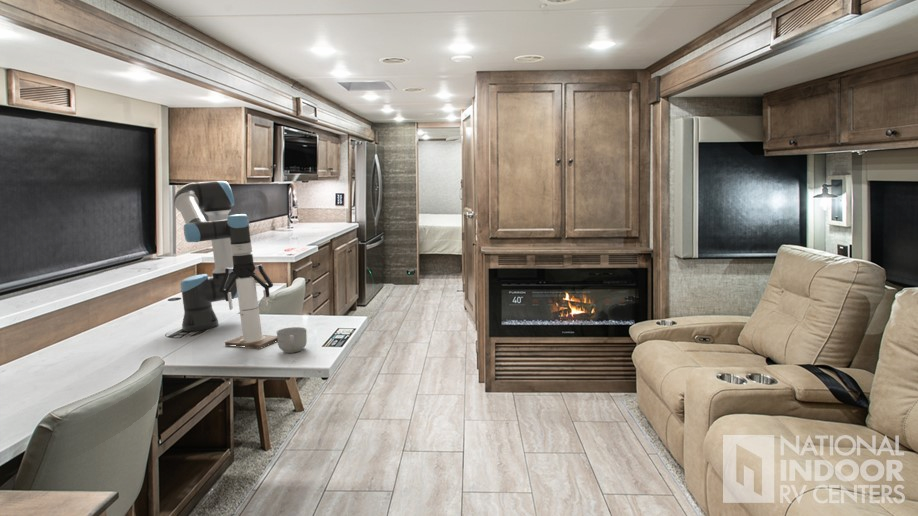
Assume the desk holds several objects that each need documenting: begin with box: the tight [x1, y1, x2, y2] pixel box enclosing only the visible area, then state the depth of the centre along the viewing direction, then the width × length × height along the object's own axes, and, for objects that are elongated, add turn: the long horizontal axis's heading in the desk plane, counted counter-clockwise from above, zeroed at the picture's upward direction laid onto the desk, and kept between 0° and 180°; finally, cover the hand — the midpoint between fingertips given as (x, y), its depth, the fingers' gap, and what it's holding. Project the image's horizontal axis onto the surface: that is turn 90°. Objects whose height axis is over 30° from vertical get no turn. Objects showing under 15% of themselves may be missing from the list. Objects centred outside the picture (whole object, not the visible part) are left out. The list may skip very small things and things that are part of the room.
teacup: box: [276, 326, 308, 353], centre depth 226 cm, size 14×11×8 cm
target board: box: [224, 334, 278, 349], centre depth 242 cm, size 18×12×2 cm, turn 65°
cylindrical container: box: [236, 276, 263, 341], centre depth 240 cm, size 7×7×25 cm
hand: (249, 307), depth 240 cm, fingers open, 13 cm apart
